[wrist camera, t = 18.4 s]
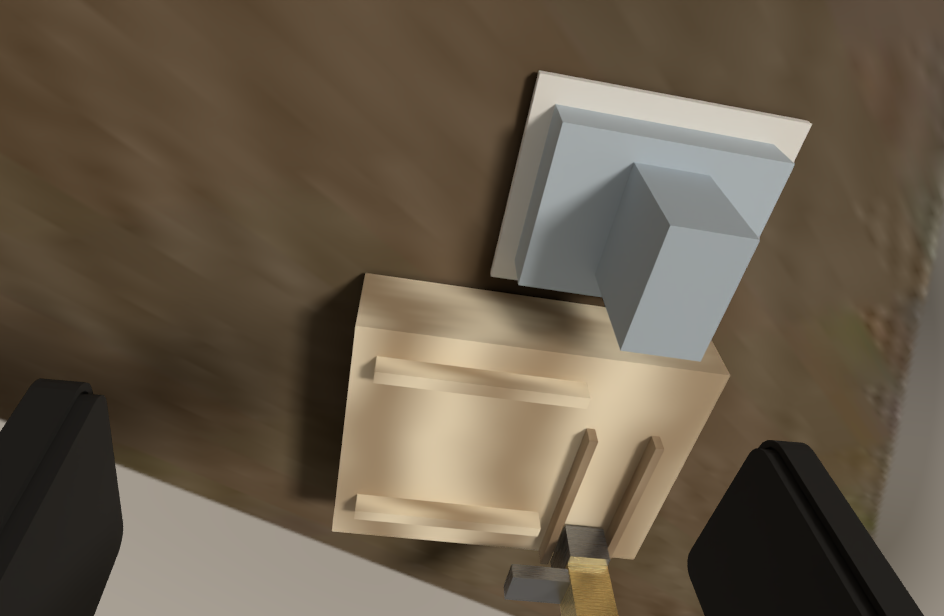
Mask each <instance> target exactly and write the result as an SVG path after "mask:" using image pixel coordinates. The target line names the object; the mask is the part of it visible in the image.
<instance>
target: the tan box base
mask: <svg viewBox="0 0 944 616" xmlns="http://www.w3.org/2000/svg"><path fill="white" fill-rule="evenodd" d="M729 377H730V374H729V372H728V370H727V368H726V367H725V365H724V363H723V361H722V359H721V357H720V355H719V353H718V351H717V349H716V348H715V346H714V344H713V342H712V340H711V341H710V343H709V346H708V348H707V350H706V352H705V354H704V356H703V358H702V360H701V362H700V361H693V360H685V359H678V358H671V357H663V356H656V355H649V354H641V353H634V352H627V351H620V348H619V345H618V342H617V339H616V336H615V333H614V330H613V327H612V324H611V321H610V318H609V315H608V313H607V310H606V307H600V306H593V305H586V304H579V303H572V302H565V301H558V300H551V299H544V298H537V297H530V296H523V295H516V294H509V293H502V292H495V291H488V290H481V289H474V288H467V287H460V286H453V285H446V284H439V283H432V282H425V281H418V280H411V279H404V278H397V277H390V276H383V275H376V274H369V273H365V278H364V283H363V289H362V294H361V299H360V304H359V310H358V315H357V320H356V326H355V334H354V343H353V352H352V360H351V369H350V378H349V387H348V396H347V404H346V413H345V422H344V431H343V439H342V448H341V457H340V466H339V474H338V483H337V492H336V501H335V509H334V518H333V527H332V531H335V532H346V533H357V534H368V535H378V536H389V537H400V538H410V539H421V540H432V541H443V542H453V543H464V544H475V545H486V546H496V547H507V548H518V549H529V550H539V557H540V564H548V563H549V560H550V558H551V556H552V553H553V552H554V551H555V549H556V546H557V544H558V541H559V539H560V537H561V534H562V532H563V529H564V527H565V525H569V526H579V527H589V528H599V529H603V530H604V534H605V539H606V543H607V548H608V552H609V556H610V559H611V557H615V558H625V559H634V558H635V556H636V554H637V552H638V550H639V548H640V546H641V544H642V543H643V541H644V539H645V537H646V535H647V533H648V531H649V529H650V527H651V525H652V524H653V522H654V520H655V518H656V516H657V514H658V512H659V510H660V508H661V506H662V504H663V503H664V501H665V499H666V497H667V495H668V493H669V491H670V489H671V487H672V485H673V483H674V482H675V480H676V478H677V476H678V474H679V472H680V470H681V468H682V466H683V464H684V463H685V461H686V459H687V457H688V455H689V453H690V451H691V449H692V447H693V445H694V443H695V442H696V440H697V438H698V436H699V434H700V432H701V430H702V428H703V426H704V424H705V423H706V421H707V419H708V417H709V415H710V413H711V411H712V409H713V407H714V405H715V403H716V402H717V400H718V398H719V396H720V394H721V392H722V390H723V388H724V386H725V384H726V382H727V381H728V379H729Z"/></svg>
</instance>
